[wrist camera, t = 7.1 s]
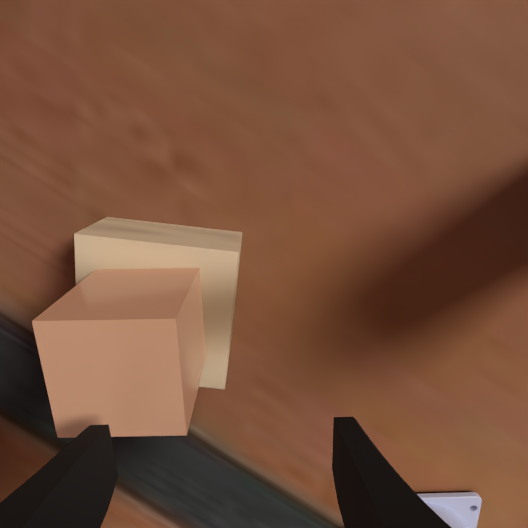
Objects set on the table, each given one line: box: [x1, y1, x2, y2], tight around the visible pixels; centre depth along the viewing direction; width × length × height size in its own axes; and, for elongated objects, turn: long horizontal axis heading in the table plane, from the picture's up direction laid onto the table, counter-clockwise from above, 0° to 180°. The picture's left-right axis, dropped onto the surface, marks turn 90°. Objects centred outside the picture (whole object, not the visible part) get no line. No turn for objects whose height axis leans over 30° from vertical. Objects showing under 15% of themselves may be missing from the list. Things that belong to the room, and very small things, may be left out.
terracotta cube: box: [32, 268, 206, 438], centre depth 15 cm, size 4×4×5 cm
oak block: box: [74, 217, 242, 389], centre depth 19 cm, size 7×7×4 cm
